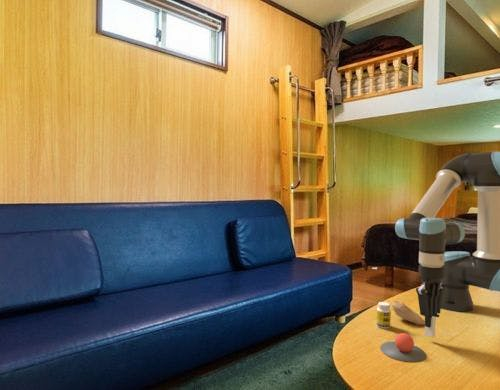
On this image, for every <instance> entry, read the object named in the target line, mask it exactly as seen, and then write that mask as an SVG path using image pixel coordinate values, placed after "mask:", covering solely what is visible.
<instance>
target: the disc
mask: <svg viewBox="0 0 500 390" xmlns="http://www.w3.org/2000/svg"><path fill="white" fill-rule="evenodd" d="M379 348H380V350H381V352H382V353H383V354H384V355H385V356H387V357H389V358H391V359H394V360H396V361H400V362H404V363H405V362H407V363H419V362H420V363H421V362H422V361H425V360H426V359H427V354H426V352H425V351H424V349H422V348H421V347H418V345H414V347H413V349H412V350H411V351H410V352H402V351H400V350H399V349H398V348H397V347H396V345H395V341H387V342H383V343H382V344H381V345H380V347H379Z"/></svg>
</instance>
